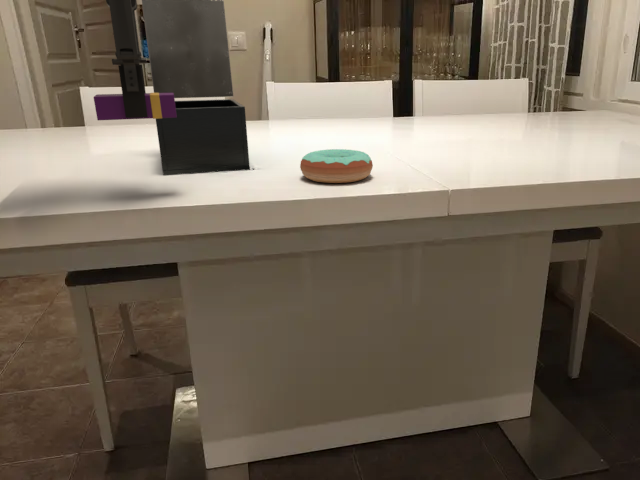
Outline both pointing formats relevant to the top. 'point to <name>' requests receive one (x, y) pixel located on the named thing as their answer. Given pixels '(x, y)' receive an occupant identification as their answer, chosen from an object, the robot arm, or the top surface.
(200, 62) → the bin lid
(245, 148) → the trash bin
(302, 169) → the donut
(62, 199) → the top surface
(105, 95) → the chocolate bar
